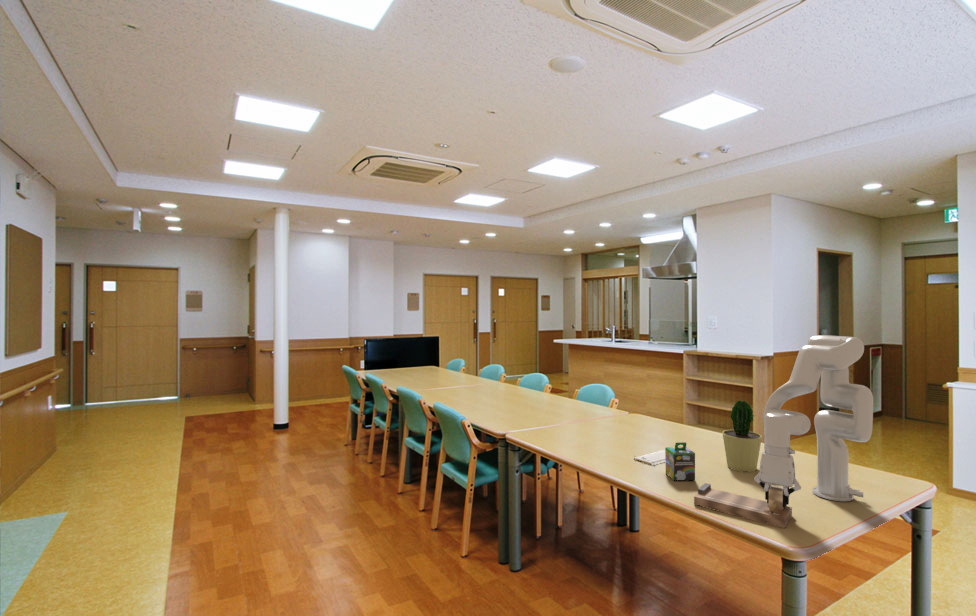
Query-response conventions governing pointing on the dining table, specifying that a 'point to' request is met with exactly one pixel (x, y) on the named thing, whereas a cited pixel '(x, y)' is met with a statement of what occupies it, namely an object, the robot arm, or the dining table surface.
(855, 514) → the dining table surface
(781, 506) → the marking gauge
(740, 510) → the walnut board
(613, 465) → the dining table surface
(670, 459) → the chalk box
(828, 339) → the robot arm
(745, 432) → the potted cactus
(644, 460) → the baseboard molding
